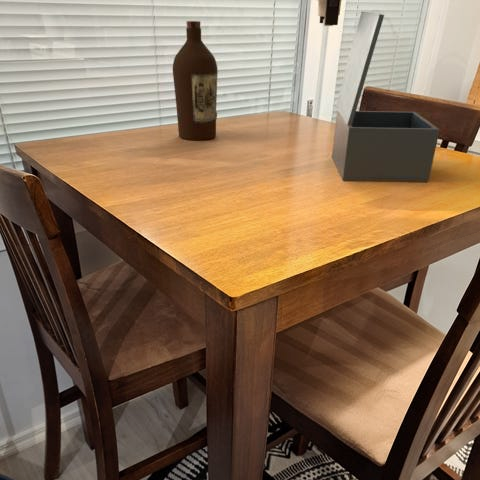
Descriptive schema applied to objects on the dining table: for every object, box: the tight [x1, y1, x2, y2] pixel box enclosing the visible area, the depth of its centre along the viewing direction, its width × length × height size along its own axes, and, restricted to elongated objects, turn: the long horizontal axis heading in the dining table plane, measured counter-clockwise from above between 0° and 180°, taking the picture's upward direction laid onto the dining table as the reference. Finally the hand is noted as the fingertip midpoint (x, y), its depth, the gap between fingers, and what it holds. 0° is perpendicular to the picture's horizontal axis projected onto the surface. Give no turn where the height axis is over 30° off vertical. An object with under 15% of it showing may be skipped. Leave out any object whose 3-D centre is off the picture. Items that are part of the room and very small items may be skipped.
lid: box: [334, 11, 385, 126], centre depth 93 cm, size 18×17×1 cm
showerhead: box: [317, 0, 342, 27], centre depth 109 cm, size 9×7×10 cm
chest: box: [331, 110, 441, 183], centre depth 100 cm, size 17×17×10 cm
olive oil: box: [172, 20, 218, 141], centre depth 119 cm, size 11×11×25 cm
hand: (328, 24), depth 110 cm, fingers closed on showerhead, 9 cm apart
